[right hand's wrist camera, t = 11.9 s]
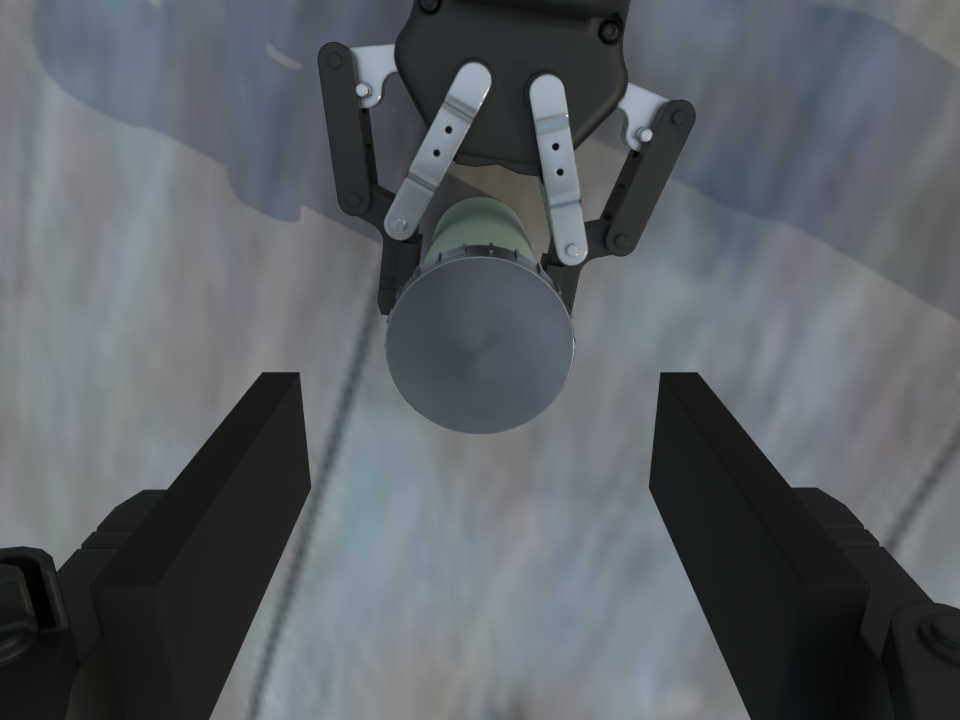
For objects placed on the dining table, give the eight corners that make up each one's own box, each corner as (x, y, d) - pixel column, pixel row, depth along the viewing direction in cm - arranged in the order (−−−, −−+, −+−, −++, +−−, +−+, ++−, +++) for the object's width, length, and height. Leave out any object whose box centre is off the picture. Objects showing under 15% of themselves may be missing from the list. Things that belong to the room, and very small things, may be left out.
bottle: (419, 268, 34) (377, 383, 20) (454, 181, 32) (435, 239, 18) (503, 303, 34) (520, 438, 20) (541, 219, 33) (587, 303, 19)
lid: (365, 376, 21) (356, 397, 19) (429, 211, 19) (425, 221, 18) (524, 437, 22) (527, 462, 20) (600, 284, 20) (610, 299, 18)
